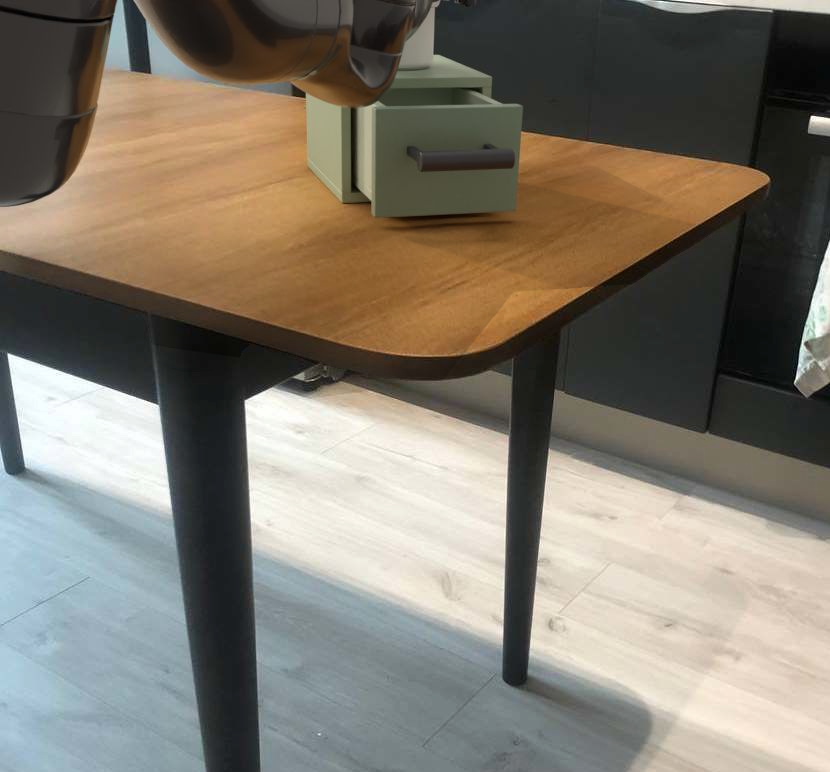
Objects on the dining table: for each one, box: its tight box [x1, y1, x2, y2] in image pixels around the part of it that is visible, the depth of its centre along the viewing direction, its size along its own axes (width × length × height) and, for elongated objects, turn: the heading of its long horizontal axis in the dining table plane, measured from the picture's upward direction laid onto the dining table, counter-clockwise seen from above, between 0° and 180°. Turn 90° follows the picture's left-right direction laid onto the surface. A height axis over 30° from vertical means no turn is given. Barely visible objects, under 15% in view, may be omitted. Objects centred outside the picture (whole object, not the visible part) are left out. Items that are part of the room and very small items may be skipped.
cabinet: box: [305, 54, 493, 204], centre depth 95 cm, size 15×13×10 cm
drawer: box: [351, 88, 524, 219], centre depth 85 cm, size 18×11×8 cm, turn 16°
